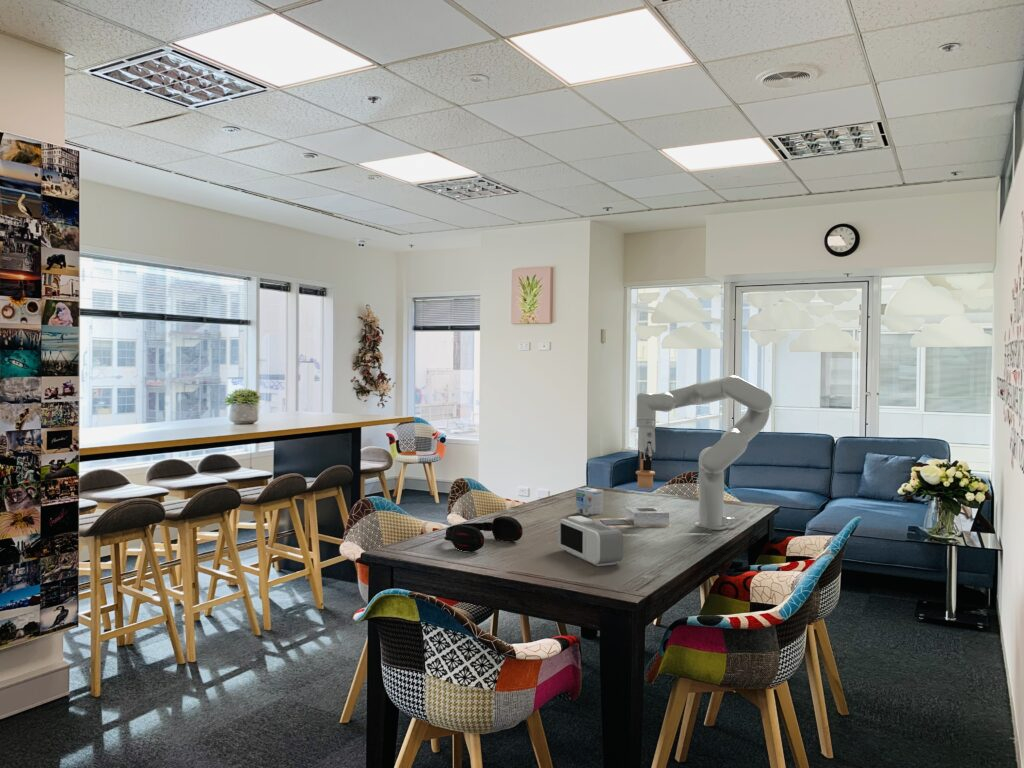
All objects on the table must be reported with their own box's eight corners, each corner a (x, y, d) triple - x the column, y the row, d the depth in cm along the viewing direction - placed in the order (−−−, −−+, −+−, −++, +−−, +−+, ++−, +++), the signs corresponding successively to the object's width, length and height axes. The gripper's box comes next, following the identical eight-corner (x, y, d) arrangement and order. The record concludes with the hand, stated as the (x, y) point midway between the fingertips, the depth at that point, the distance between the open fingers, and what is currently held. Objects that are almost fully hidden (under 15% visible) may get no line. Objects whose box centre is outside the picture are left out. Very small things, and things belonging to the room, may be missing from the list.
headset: (508, 557, 256) (508, 531, 255) (433, 552, 262) (433, 526, 262) (527, 540, 283) (527, 516, 283) (458, 535, 289) (458, 512, 289)
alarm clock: (558, 550, 266) (558, 515, 266) (581, 548, 270) (582, 513, 270) (597, 569, 241) (597, 530, 241) (623, 566, 245) (623, 528, 245)
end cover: (651, 485, 314) (652, 458, 314) (657, 488, 307) (657, 460, 307) (633, 485, 314) (633, 458, 314) (638, 488, 306) (638, 460, 306)
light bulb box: (575, 513, 336) (575, 488, 336) (587, 511, 340) (587, 486, 340) (592, 516, 327) (592, 491, 327) (603, 515, 331) (604, 490, 331)
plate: (659, 520, 320) (659, 505, 320) (673, 529, 302) (673, 513, 302) (592, 521, 317) (592, 506, 317) (602, 530, 300) (602, 514, 299)
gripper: (661, 425, 302) (660, 472, 302) (649, 422, 319) (648, 467, 319) (642, 425, 301) (641, 472, 302) (631, 422, 318) (630, 467, 318)
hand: (645, 469), depth 310 cm, fingers closed on end cover, 4 cm apart
